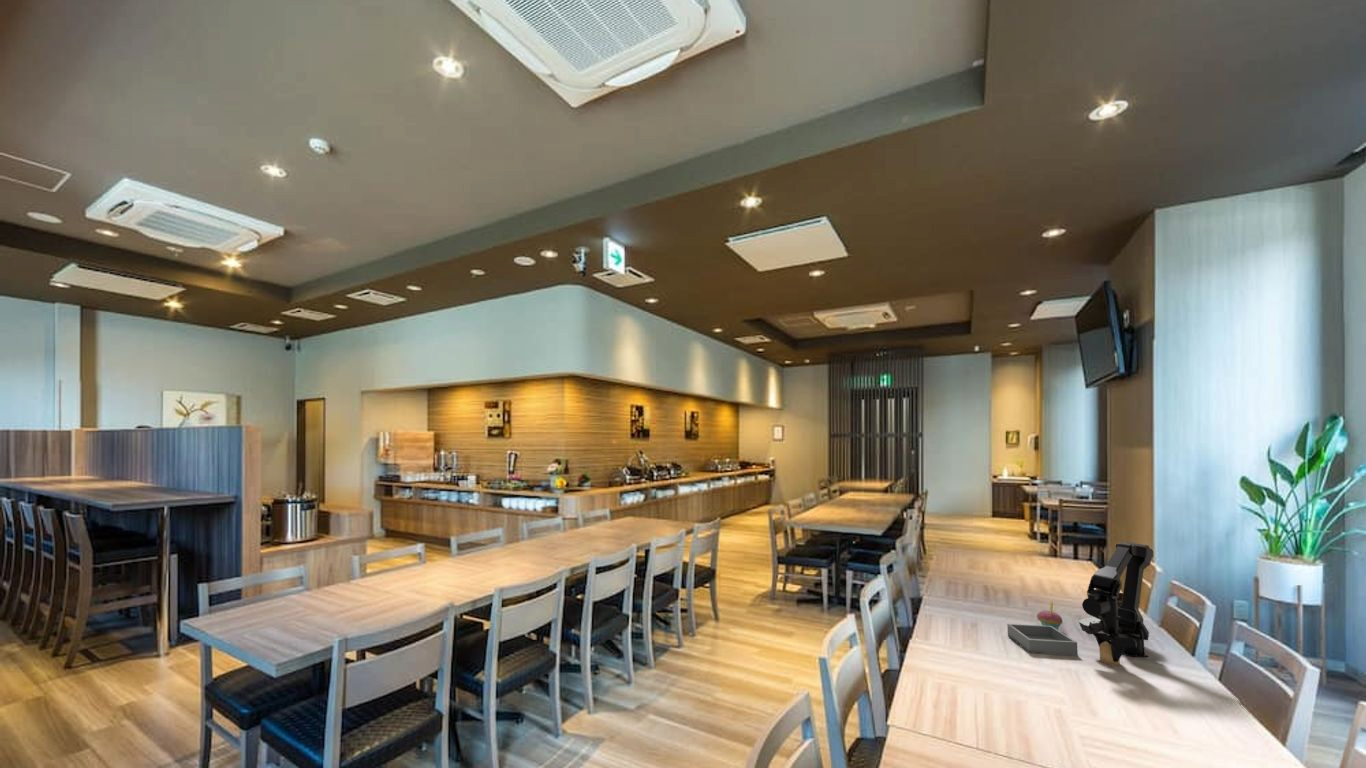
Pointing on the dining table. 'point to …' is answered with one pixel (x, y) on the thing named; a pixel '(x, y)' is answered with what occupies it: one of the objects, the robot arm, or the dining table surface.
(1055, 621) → the cupcake
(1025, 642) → the bin
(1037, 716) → the dining table surface
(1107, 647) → the tan oval piece
